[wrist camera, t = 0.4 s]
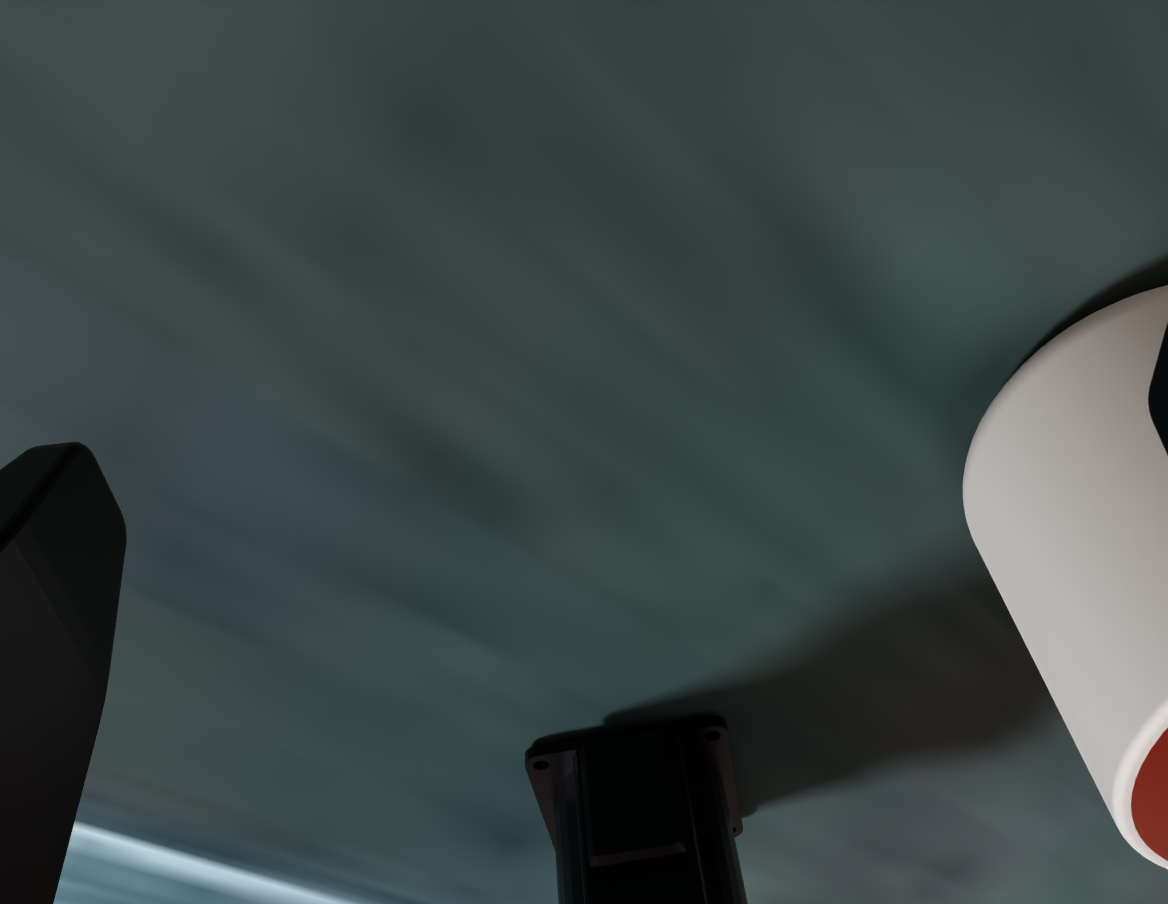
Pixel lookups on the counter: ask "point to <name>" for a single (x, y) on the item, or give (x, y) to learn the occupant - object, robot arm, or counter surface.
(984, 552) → the cup
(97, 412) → the counter surface
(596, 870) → the robot arm
